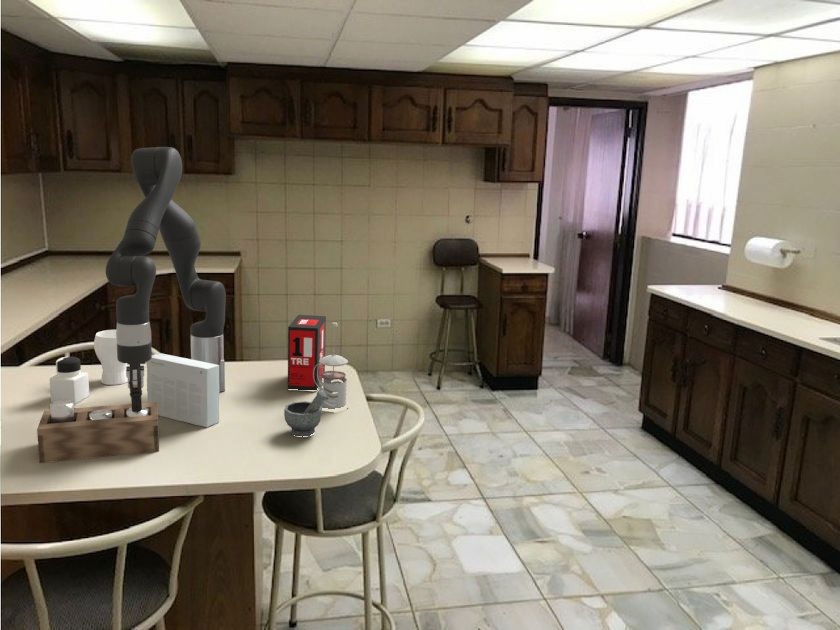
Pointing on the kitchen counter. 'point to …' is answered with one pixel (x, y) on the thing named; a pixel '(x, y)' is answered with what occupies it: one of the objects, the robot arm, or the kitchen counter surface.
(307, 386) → the cleaning product box
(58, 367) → the medicine bottle
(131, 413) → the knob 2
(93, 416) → the spice jar
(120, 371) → the cup
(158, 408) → the skincare box
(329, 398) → the french press
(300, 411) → the mortar and pestle
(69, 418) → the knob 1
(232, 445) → the kitchen counter surface
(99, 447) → the wooden spice jar rack
